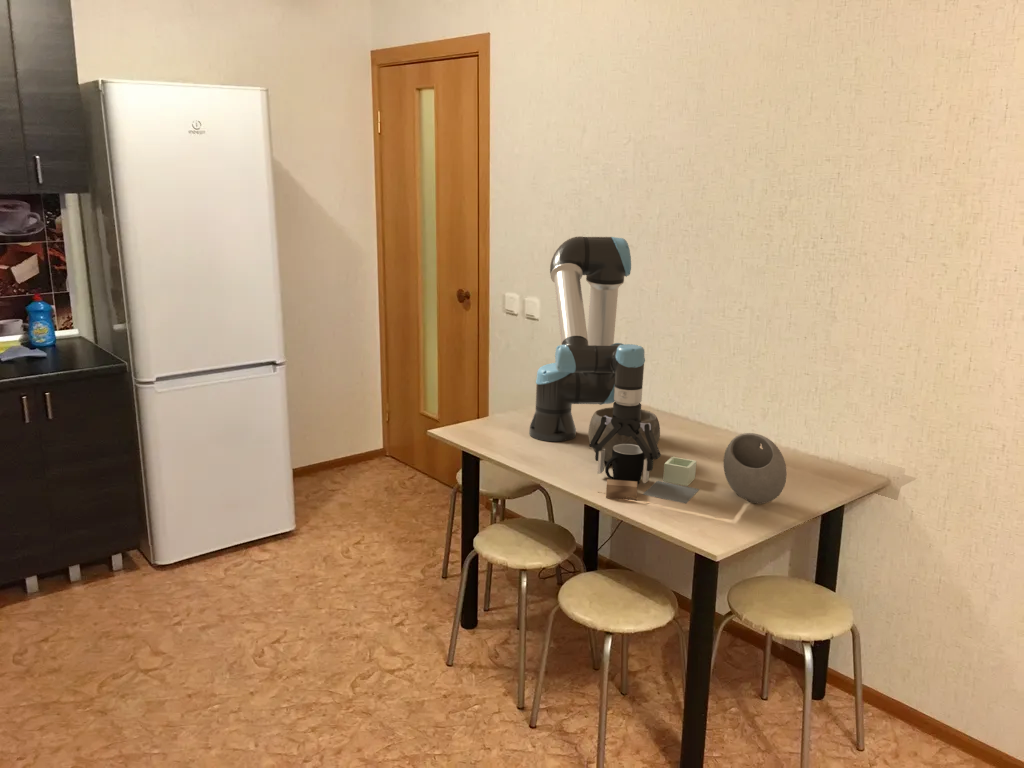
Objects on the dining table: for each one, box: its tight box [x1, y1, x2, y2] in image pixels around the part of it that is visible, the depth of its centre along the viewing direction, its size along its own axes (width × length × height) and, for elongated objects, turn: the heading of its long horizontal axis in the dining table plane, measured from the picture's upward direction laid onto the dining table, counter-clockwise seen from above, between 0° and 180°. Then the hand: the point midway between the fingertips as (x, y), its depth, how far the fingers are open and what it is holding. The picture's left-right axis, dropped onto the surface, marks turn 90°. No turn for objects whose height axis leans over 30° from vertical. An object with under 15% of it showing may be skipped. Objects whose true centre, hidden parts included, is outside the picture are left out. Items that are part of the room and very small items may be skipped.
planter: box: [722, 432, 788, 504], centre depth 223 cm, size 18×7×19 cm, turn 42°
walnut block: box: [605, 478, 638, 501], centre depth 226 cm, size 8×4×4 cm, turn 82°
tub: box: [662, 456, 697, 487], centre depth 237 cm, size 7×7×6 cm
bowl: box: [587, 406, 661, 463], centre depth 252 cm, size 21×21×15 cm
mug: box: [604, 444, 645, 485], centre depth 234 cm, size 12×9×10 cm
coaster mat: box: [642, 480, 700, 504], centre depth 229 cm, size 12×12×1 cm
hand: (622, 476), depth 235 cm, fingers open, 12 cm apart
